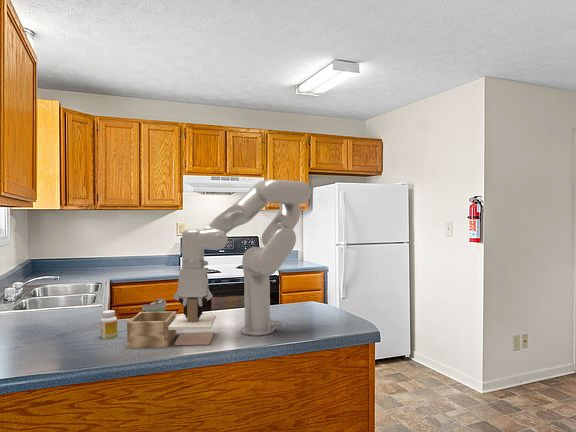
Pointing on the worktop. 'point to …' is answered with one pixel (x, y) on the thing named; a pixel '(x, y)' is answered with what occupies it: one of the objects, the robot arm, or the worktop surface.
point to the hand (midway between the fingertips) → (193, 316)
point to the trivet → (193, 339)
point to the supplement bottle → (108, 325)
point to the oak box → (150, 329)
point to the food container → (155, 306)
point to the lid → (192, 319)
